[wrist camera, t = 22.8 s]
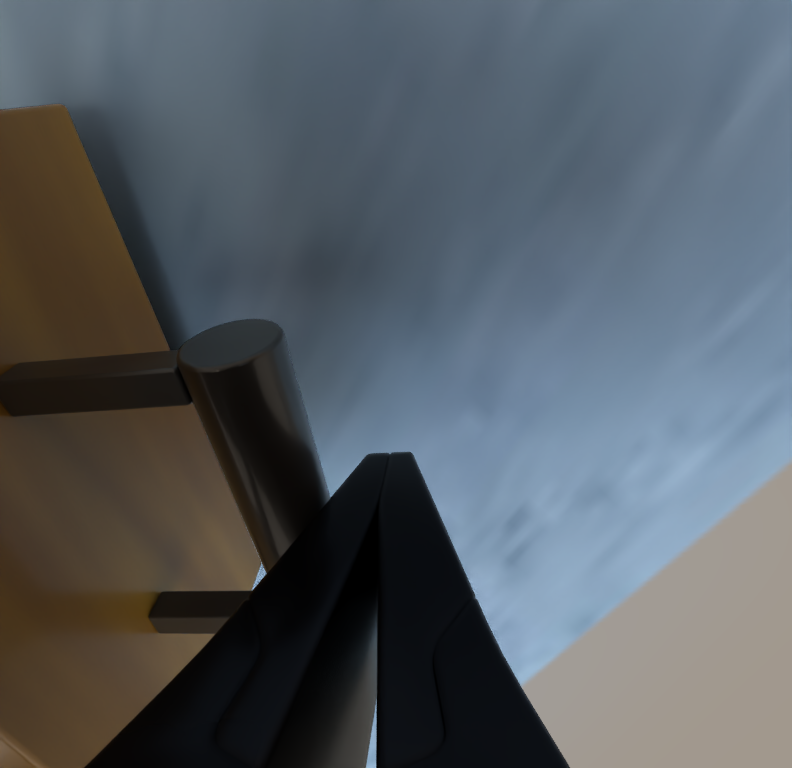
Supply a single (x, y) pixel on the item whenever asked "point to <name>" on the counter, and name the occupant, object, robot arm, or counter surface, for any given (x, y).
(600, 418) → the counter surface
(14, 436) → the drawer
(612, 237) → the counter surface
